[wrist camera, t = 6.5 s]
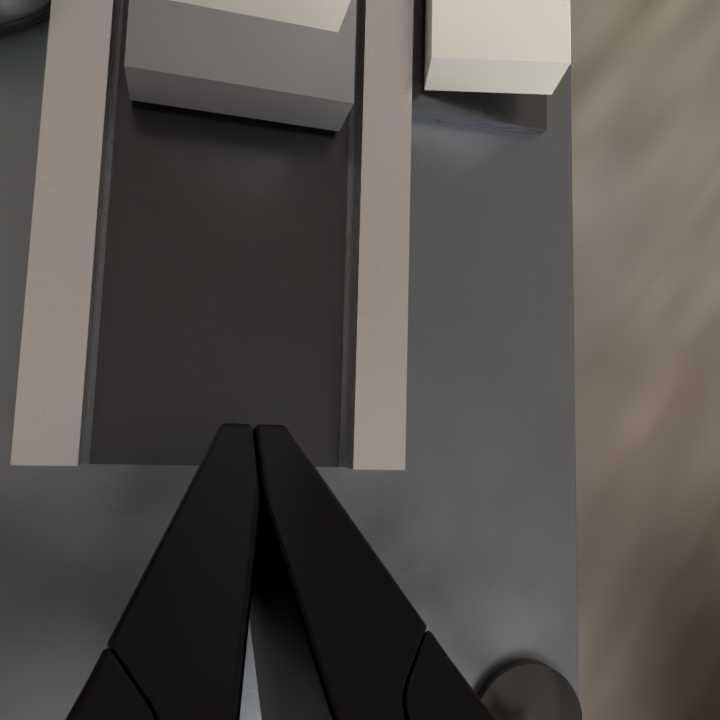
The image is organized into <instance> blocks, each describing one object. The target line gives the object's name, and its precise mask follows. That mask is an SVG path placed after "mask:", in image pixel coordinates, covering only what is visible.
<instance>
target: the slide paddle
mask: <svg viewBox="0 0 720 720" xmlns="http://www.w3.org/2000/svg"><path fill="white" fill-rule="evenodd" d="M356 9H357V0H129V8H128V21H127V35H126V49H125V62H124V67H125V74H126V80H127V86H128V92H129V98H130V100H134V101H141V102H147V103H154V104H161V105H167V106H174V107H181V108H187V109H194V110H201V111H207V112H214V113H220V114H227V115H234V116H240V117H247V118H254V119H260V120H267V121H273V122H280V123H287V124H293V125H300V126H307V127H313V128H320V129H326V130H333V131H340V129H341V127H342V125H343V123H344V121H345V119H346V117H347V115H348V113H349V111H350V110H351V108H352V106H353V104H354V78H355V43H356Z"/></svg>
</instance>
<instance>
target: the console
mask: <svg viewBox="0 0 720 720" xmlns="http://www.w3.org/2000/svg"><path fill="white" fill-rule="evenodd" d="M128 8H129V0H0V720H65V719H66V717H67V715H68V714H69V712H70V710H71V708H72V706H73V705H74V703H75V701H76V699H77V697H78V696H79V694H80V692H81V690H82V689H83V687H84V685H85V683H86V681H87V679H88V677H89V675H90V674H91V672H92V670H93V668H94V666H95V664H96V662H97V660H98V658H99V656H100V654H101V652H102V651H103V650H104V649H106V648H107V642H108V640H109V638H110V636H111V634H112V632H113V630H114V628H115V626H116V624H117V623H118V621H119V619H120V617H121V615H122V613H123V611H124V609H125V607H126V605H127V603H128V601H129V599H130V597H131V596H132V594H133V592H134V590H135V588H136V586H137V584H138V582H139V580H140V578H141V576H142V574H143V572H144V570H145V569H146V567H147V565H148V563H149V561H150V559H151V557H152V555H153V553H154V551H155V549H156V547H157V545H158V543H159V542H160V540H161V538H162V536H163V534H164V532H165V530H166V528H167V526H168V524H169V522H170V520H171V518H172V517H173V515H174V513H175V511H176V509H177V507H178V505H179V503H180V501H181V499H182V497H183V495H184V493H185V491H186V490H187V488H188V486H189V484H190V482H191V480H192V478H193V476H194V474H195V472H196V470H197V468H198V466H199V464H200V463H201V461H202V459H203V457H204V455H205V453H206V451H207V449H208V447H209V445H210V443H211V441H212V439H213V437H214V436H215V434H216V432H217V430H218V428H219V427H220V425H222V424H223V423H238V424H250V425H251V426H252V427H253V428H254V427H255V426H256V425H258V424H270V425H284V426H285V427H287V428H288V429H289V431H290V432H291V434H292V435H293V436H294V438H295V439H296V441H297V442H298V444H299V445H300V446H301V448H302V449H303V451H304V452H305V453H306V455H307V456H308V458H309V459H310V461H311V462H312V463H313V465H314V466H315V468H316V469H317V470H318V472H319V473H320V475H321V476H322V478H323V479H324V480H325V482H326V483H327V485H328V486H329V488H330V489H331V490H332V492H333V493H334V495H335V496H336V497H337V499H338V500H339V502H340V503H341V505H342V506H343V507H344V509H345V510H346V512H347V513H348V515H349V516H350V517H351V519H352V520H353V522H354V523H355V524H356V526H357V527H358V529H359V530H360V532H361V533H362V534H363V536H364V537H365V539H366V540H367V541H368V543H369V544H370V546H371V547H372V549H373V550H374V551H375V553H376V554H377V556H378V557H379V559H380V560H381V561H382V563H383V564H384V566H385V567H386V568H387V570H388V571H389V573H390V574H391V576H392V577H393V578H394V580H395V581H396V583H397V584H398V586H399V587H400V588H401V590H402V591H403V593H404V594H405V595H406V597H407V598H408V600H409V601H410V603H411V604H412V605H413V607H414V608H415V610H416V611H417V613H418V614H419V615H420V617H421V618H422V620H423V621H424V622H425V624H426V626H427V628H426V631H431V632H432V633H433V635H434V636H435V638H436V639H437V641H438V642H439V643H440V645H441V646H442V648H443V649H444V651H445V652H446V654H447V655H448V656H449V658H450V659H451V660H452V662H453V663H454V664H455V666H456V667H457V669H458V670H459V671H460V673H461V674H462V675H463V677H464V678H465V679H466V681H467V682H468V683H469V685H470V686H471V687H472V689H473V690H474V691H475V693H476V694H477V695H478V697H479V698H480V699H481V700H482V702H483V703H484V704H485V705H486V706H487V708H488V709H489V710H490V711H491V713H492V714H493V715H494V716H495V717H496V719H497V720H582V712H581V707H580V703H579V700H578V628H577V546H576V465H575V384H574V302H573V221H572V139H571V64H570V65H569V67H568V69H567V70H566V72H565V74H564V75H563V77H562V78H561V80H560V82H559V83H558V85H557V87H556V88H555V90H554V92H553V93H552V95H546V94H518V93H491V92H463V91H435V90H424V75H425V11H426V0H357V9H356V43H355V78H354V104H353V106H352V108H351V110H350V111H349V113H348V115H347V117H346V119H345V121H344V123H343V125H342V127H341V129H340V131H333V130H326V129H320V128H313V127H307V126H300V125H293V124H287V123H280V122H273V121H267V120H260V119H254V118H247V117H240V116H234V115H227V114H220V113H214V112H207V111H201V110H194V109H187V108H181V107H174V106H167V105H161V104H154V103H147V102H141V101H134V100H130V98H129V92H128V86H127V80H126V74H125V67H124V62H125V49H126V35H127V21H128ZM426 631H425V632H426ZM240 720H262V718H261V710H260V702H259V694H258V686H257V678H256V670H255V662H254V653H253V645H252V637H251V629H250V621H249V629H248V639H247V649H246V659H245V669H244V679H243V690H242V700H241V710H240Z"/></svg>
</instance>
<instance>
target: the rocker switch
mask: <svg viewBox="0 0 720 720" xmlns="http://www.w3.org/2000/svg"><path fill="white" fill-rule="evenodd" d="M570 64H571V22H570V0H426V11H425V75H424V90H435V91H463V92H491V93H518V94H546V95H552V93H553V92H554V90H555V88H556V87H557V85H558V83H559V82H560V80H561V78H562V77H563V75H564V74H565V72H566V70H567V69H568V67H569V65H570Z"/></svg>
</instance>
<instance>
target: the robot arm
mask: <svg viewBox="0 0 720 720" xmlns="http://www.w3.org/2000/svg"><path fill="white" fill-rule="evenodd" d="M249 621H250V629H251V637H252V645H253V653H254V662H255V670H256V678H257V686H258V694H259V702H260V710H261V718H262V720H497V719H496V717H495V716H494V715H493V714H492V713H491V711H490V710H489V709H488V708H487V706H486V705H485V704H484V703H483V702H482V700H481V699H480V698H479V697H478V695H477V694H476V693H475V691H474V690H473V689H472V687H471V686H470V685H469V683H468V682H467V681H466V679H465V678H464V677H463V675H462V674H461V673H460V671H459V670H458V669H457V667H456V666H455V664H454V663H453V662H452V660H451V659H450V658H449V656H448V655H447V654H446V652H445V651H444V649H443V648H442V646H441V645H440V643H439V642H438V641H437V639H436V638H435V636H434V635H433V633H432V632H431V631H426V628H427V626H426V624H425V622H424V621H423V620H422V618H421V617H420V615H419V614H418V613H417V611H416V610H415V608H414V607H413V605H412V604H411V603H410V601H409V600H408V598H407V597H406V595H405V594H404V593H403V591H402V590H401V588H400V587H399V586H398V584H397V583H396V581H395V580H394V578H393V577H392V576H391V574H390V573H389V571H388V570H387V568H386V567H385V566H384V564H383V563H382V561H381V560H380V559H379V557H378V556H377V554H376V553H375V551H374V550H373V549H372V547H371V546H370V544H369V543H368V541H367V540H366V539H365V537H364V536H363V534H362V533H361V532H360V530H359V529H358V527H357V526H356V524H355V523H354V522H353V520H352V519H351V517H350V516H349V515H348V513H347V512H346V510H345V509H344V507H343V506H342V505H341V503H340V502H339V500H338V499H337V497H336V496H335V495H334V493H333V492H332V490H331V489H330V488H329V486H328V485H327V483H326V482H325V480H324V479H323V478H322V476H321V475H320V473H319V472H318V470H317V469H316V468H315V466H314V465H313V463H312V462H311V461H310V459H309V458H308V456H307V455H306V453H305V452H304V451H303V449H302V448H301V446H300V445H299V444H298V442H297V441H296V439H295V438H294V436H293V435H292V434H291V432H290V431H289V429H288V428H287V427H285V426H284V425H270V424H258V425H256V426H255V427H254V428H253V427H252V426H251V425H250V424H238V423H223V424H222V425H220V427H219V428H218V430H217V432H216V434H215V436H214V437H213V439H212V441H211V443H210V445H209V447H208V449H207V451H206V453H205V455H204V457H203V459H202V461H201V463H200V464H199V466H198V468H197V470H196V472H195V474H194V476H193V478H192V480H191V482H190V484H189V486H188V488H187V490H186V491H185V493H184V495H183V497H182V499H181V501H180V503H179V505H178V507H177V509H176V511H175V513H174V515H173V517H172V518H171V520H170V522H169V524H168V526H167V528H166V530H165V532H164V534H163V536H162V538H161V540H160V542H159V543H158V545H157V547H156V549H155V551H154V553H153V555H152V557H151V559H150V561H149V563H148V565H147V567H146V569H145V570H144V572H143V574H142V576H141V578H140V580H139V582H138V584H137V586H136V588H135V590H134V592H133V594H132V596H131V597H130V599H129V601H128V603H127V605H126V607H125V609H124V611H123V613H122V615H121V617H120V619H119V621H118V623H117V624H116V626H115V628H114V630H113V632H112V634H111V636H110V638H109V640H108V642H107V648H106V649H104V650H103V651H102V652H101V654H100V656H99V658H98V660H97V662H96V664H95V666H94V668H93V670H92V672H91V674H90V675H89V677H88V679H87V681H86V683H85V685H84V687H83V689H82V690H81V692H80V694H79V696H78V697H77V699H76V701H75V703H74V705H73V706H72V708H71V710H70V712H69V714H68V715H67V717H66V719H65V720H240V710H241V700H242V690H243V679H244V669H245V659H246V649H247V639H248V629H249ZM425 631H426V632H425Z"/></svg>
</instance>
